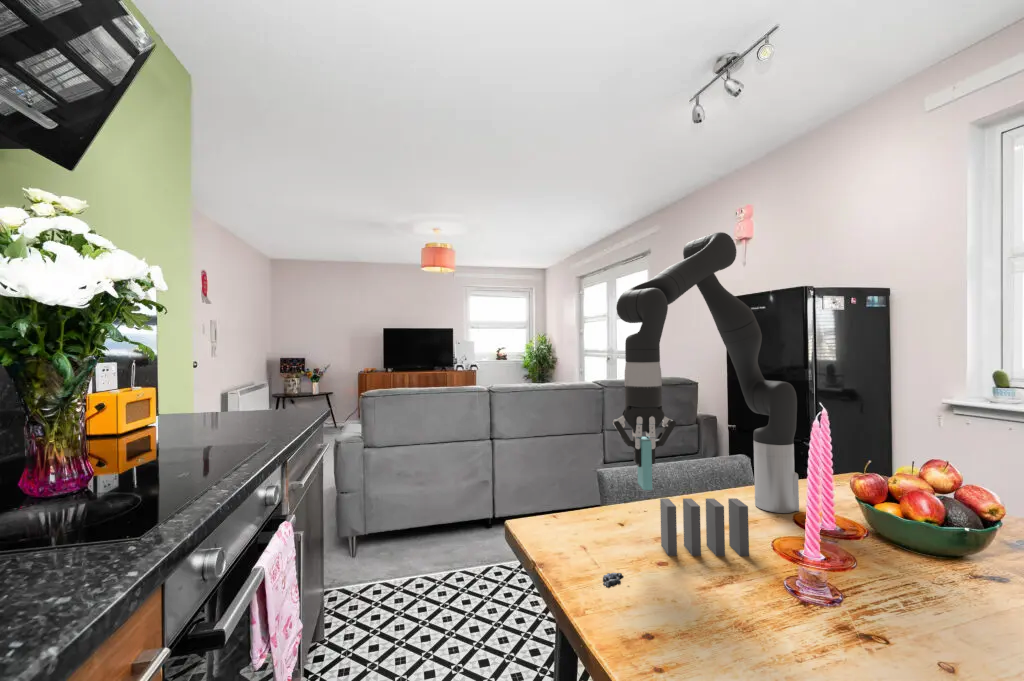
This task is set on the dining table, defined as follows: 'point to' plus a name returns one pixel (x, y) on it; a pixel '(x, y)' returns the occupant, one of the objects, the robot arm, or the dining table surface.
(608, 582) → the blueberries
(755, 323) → the robot arm
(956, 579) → the dining table surface
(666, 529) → the domino
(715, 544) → the domino
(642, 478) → the end domino
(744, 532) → the domino
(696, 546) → the domino
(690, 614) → the dining table surface
